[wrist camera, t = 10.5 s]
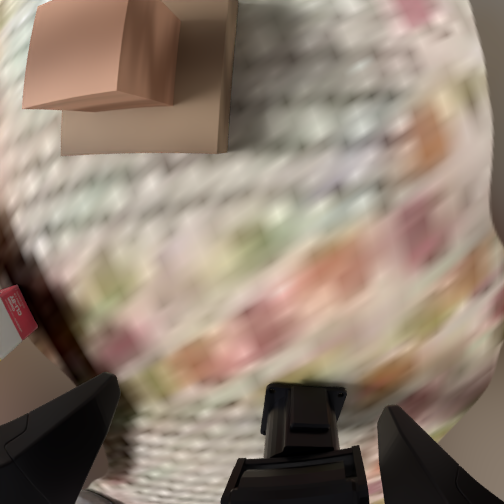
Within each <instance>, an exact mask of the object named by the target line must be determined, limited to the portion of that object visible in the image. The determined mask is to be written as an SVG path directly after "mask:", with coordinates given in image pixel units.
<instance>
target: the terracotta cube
mask: <svg viewBox="0 0 504 504" xmlns="http://www.w3.org/2000/svg"><path fill="white" fill-rule="evenodd" d="M180 24H181V21H180V20H179V18H178V17H177V16H176V15H175V14H174V13H173V12H172V11H171V10H170V9H169V8H168V7H167V6H166V5H165V4H164V3H163V2H162V1H161V0H52V1H50V2H47V3H45V4H43V5H40V6H38V8H37V12H36V16H35V21H34V25H33V30H32V35H31V40H30V46H29V52H28V58H27V65H26V72H25V81H24V91H23V103H22V109H47V110H68V111H83V112H100V111H109V110H119V109H130V108H142V107H158V106H173V101H174V86H175V73H176V62H177V52H178V42H179V33H180Z"/></svg>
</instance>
